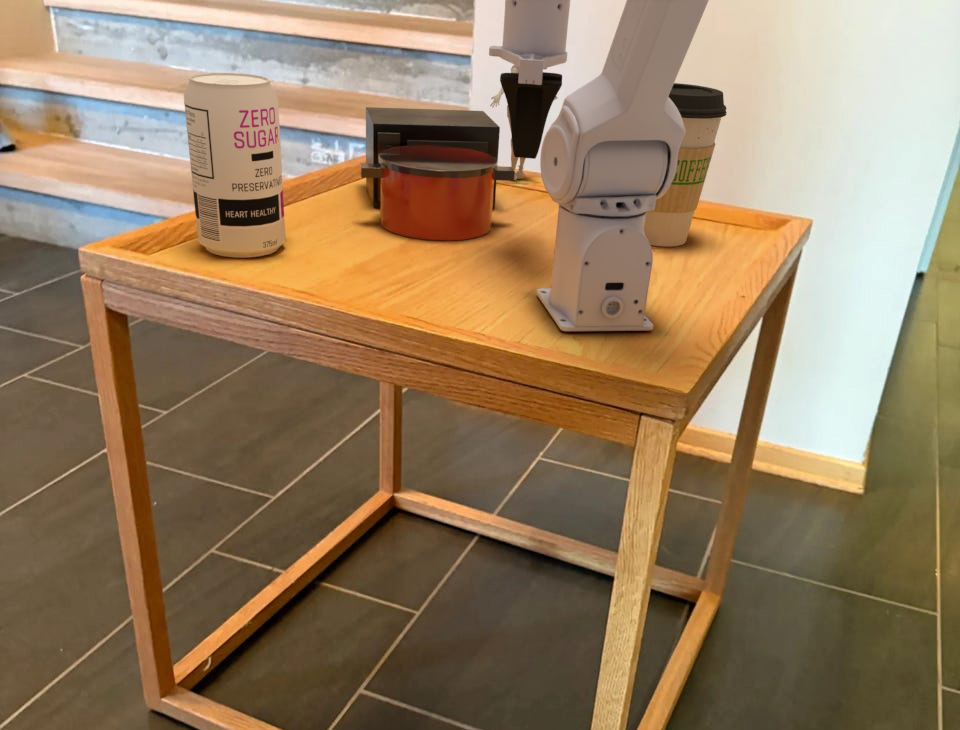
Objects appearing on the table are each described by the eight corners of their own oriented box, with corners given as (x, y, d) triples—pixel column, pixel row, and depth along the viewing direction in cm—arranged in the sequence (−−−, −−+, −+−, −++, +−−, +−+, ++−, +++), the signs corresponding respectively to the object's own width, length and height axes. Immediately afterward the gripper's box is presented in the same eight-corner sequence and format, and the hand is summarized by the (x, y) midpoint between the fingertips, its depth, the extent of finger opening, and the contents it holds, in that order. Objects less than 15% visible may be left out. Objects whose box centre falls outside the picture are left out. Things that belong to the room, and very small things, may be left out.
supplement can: (220, 231, 96) (206, 69, 88) (298, 240, 95) (290, 77, 87) (183, 253, 90) (164, 80, 82) (266, 264, 89) (255, 89, 81)
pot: (520, 242, 100) (526, 172, 96) (365, 240, 97) (365, 169, 93) (497, 210, 110) (502, 146, 106) (356, 208, 107) (356, 142, 103)
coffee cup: (710, 254, 100) (739, 100, 92) (617, 248, 100) (638, 93, 92) (694, 228, 108) (719, 85, 100) (608, 223, 108) (626, 79, 100)
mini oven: (496, 211, 109) (501, 128, 104) (374, 210, 107) (373, 124, 102) (479, 188, 118) (483, 110, 114) (366, 186, 116) (365, 107, 111)
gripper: (497, -14, 90) (488, 138, 97) (487, -4, 78) (477, 169, 85) (572, -8, 90) (557, 144, 97) (574, 2, 77) (556, 175, 85)
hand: (525, 156), depth 91 cm, fingers closed
